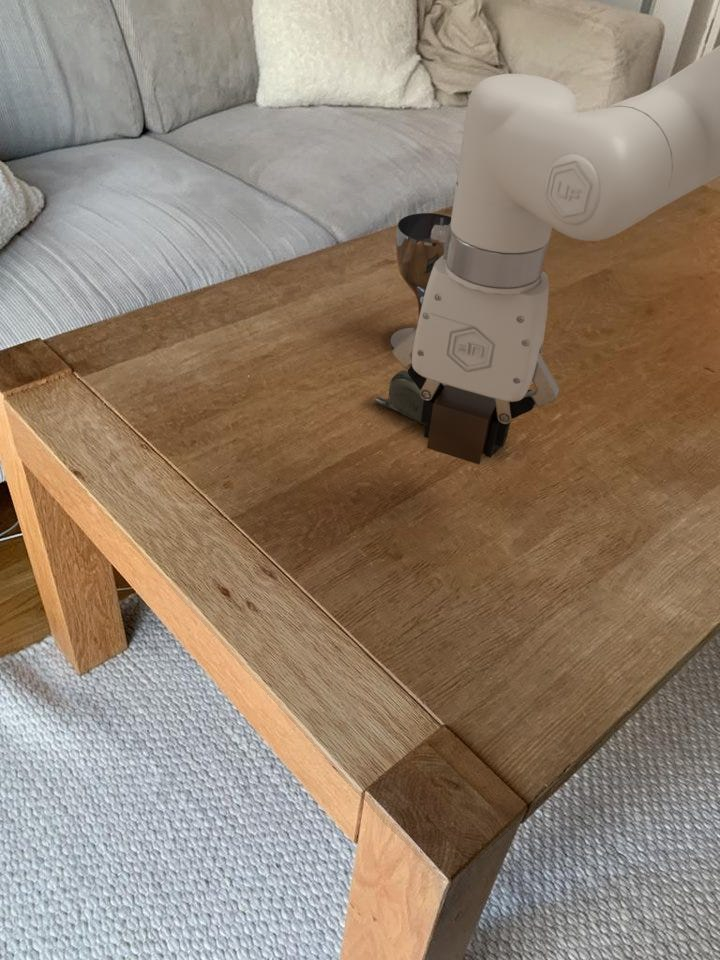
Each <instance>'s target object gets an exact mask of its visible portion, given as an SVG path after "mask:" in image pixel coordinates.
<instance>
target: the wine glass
mask: <svg viewBox="0 0 720 960" xmlns="http://www.w3.org/2000/svg"><path fill="white" fill-rule="evenodd" d="M451 217H452V216H448V215H445V214H440V213H433V212H432V213H431V212H421V213H413V214H409V215H407V216H404V217H402V218H401V219H400V220H399V221H398V223H397V228H396V229H397V230H396V240H395V241H396V244H395V250H396V251H395V253H396V262H397V267H398V271H399V274H400V276H401V278H402V280H403V282H405V284H406V285H407V286H408V287H409V289H411V291H412V292H413V294H414V296H415V297H416V300H417V305H418V308H417V309H418V317H419V316H420V311H421V307H422V303H423V299H424V295H425V291H426V287H427V284H428V281H429V278H430V275H431V272H432V269H433V266H434V264H435V262H436V261H437V260H438V259H439V258H440V257H441V256H443V255H444V251H443V246H440V245H439V243H435V242H431V240H430V237H431V232H432V229H433V226H434V225H440V226H444V225H447V226H448V225H449V224H450V223H451ZM417 320H419V318H418V319H417ZM416 329H417V327H406V328H402V329H399V330H397V331H395V332H394V333H393V334H392V335H391V337H390V339H389V342H390V346H391V347H392V348H393V349H394V348H395V347H396V346H397V345H398V343H399V342H401V341H402V340H403V339H405V338H406V337H407V336H408V335H410V334H411V333H412V332H414V331H415V330H416ZM420 353H421V352H420ZM422 354H423V353H422Z"/></svg>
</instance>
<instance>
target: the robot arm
mask: <svg viewBox="0 0 720 960" xmlns="http://www.w3.org/2000/svg"><path fill="white" fill-rule="evenodd" d="M466 105H467V106H466V112H465V117H464V123H463V124H464V125H463V132H462V138H461V147H460V152H459V153H460V154H459V161H458V167H457V175H456V182H455V188H454V189H455V190H454V195H453V203H452V211H451V216H450V217H451V223H450V224H449V225H448V226H447V225H444V226H440V225H434V226H433V229H432V232H431V237H430V240H431V242H435V243H439V245H440V246H443V251H444V255H443V256H441V257H440V258H439V259H438V260H437V261H436V262H435V264H434V266H433V269H432V272H431V275H430V278H429V281H428V284H427V287H426V291H425V295H424V299H423V303H422V307H421V311H420V316H419V315H418V319H419V320H418V319H417V320H418V322H417V326H416V328H417V329H416V330H415V331H414V332H412V333H411V334H410V335H408V336H407V337H406V338H405V339H403V340H402V341H401V342H399V343H398V345H397V346H396V347H395V348H393V349H392V356H393V357H394V358H395V359H396V361H397V362H398V363H399V364H400V366H402V367H403V369H405V370H406V371H408V374H409V376H410V377H411V379H412V380H413V381H414V383H415V384H416V385H417V387H418V388H419V389H420V396H421V398H422V399H423V400H424V402H423V409H422V416H421V422H422V423H425V425H424V431H423V438H426V439H428V437H429V430H430V423H431V417H432V410H433V404H434V402H435V401H436V399H437V397H438V396H439V394H440V393H441V391H442V390H443V388H444V387H445V386H443V384H445V385H449V386H452V387H456V388H459V389H462V390H466V391H469V392H473V393H476V394H480V395H483V396H486V397H490V398H494V399H495V404H496V412H495V414H494V416H493V418H492V420H491V422H490V426H489V431H488V436H487V440H486V445H485V450H484V454H485V455H484V457H487V458H490V459H491V458H492V456H493V454H494V453H495V452H494V450H495V448H496V446H500V448H503V447H504V445H506V441H507V439H508V435H509V431H510V427H511V421H512V419H515V418H518V417H519V416H522V415H525V414H526V413H529V412H531V411H532V410H533V409H535V408H541V407H543V406H544V407H545V406H547V405H549V404H553V403H555V402H556V401H557V399H558V397H559V394H560V392H561V390H560V387H559V386H558V383H557V382H556V380H555V378H554V376H553V374H552V372H551V370H550V369H549V367H548V365H547V363H546V362H545V360H544V358H543V356H542V351H543V345H544V338H545V334H546V327H547V326H546V325H547V319H548V318H547V317H548V311H549V310H548V308H549V287H550V285H549V276H548V274H547V273H546V272H545V271H543V270H544V266H545V261H546V257H547V252H548V249H549V243H550V239H551V235H552V230H555V231H556V232H558V233H560V234H562V235H564V236H567V237H569V238H571V239H574V240H577V241H583V242H597V241H603V240H607V239H610V238H612V237H614V236H616V235H618V234H620V233H622V232H623V231H625V230H627V229H629V228H630V227H632V226H634V225H636V224H637V223H640V222H641V221H643V220H644V219H646V218H647V217H648V216H650V215H651V214H653V213H655V212H657V211H659V210H660V209H662V208H664V207H665V206H667V205H669V204H671V203H673V202H675V201H676V200H678V199H680V198H682V197H683V196H685V195H687V194H689V193H692V192H693V191H694V190H697V189H698V188H701V187H702V186H704V185H706V184H708V183H709V182H711V181H713V180H715V179H717V178H719V177H720V44H719V45H718V46H717V47H715V48H713V49H712V50H711V51H709V52H707V53H705V54H704V55H702V56H700V57H699V58H698V59H696V60H695V61H693V62H692V63H690V64H689V65H687V66H686V67H684V68H682V69H681V70H679V71H678V72H676V73H675V74H673V75H671V76H670V77H668V78H667V79H665V80H664V81H661V82H660V83H658V84H657V85H655V86H653V87H651V88H650V89H648V90H645V92H643V93H642V92H641V93H639V94H638V95H635V96H631V97H629V98H627V99H624V100H621V101H619V102H615V103H613V104H611V105H609V106H608V105H607V106H606V107H604V108H600V109H595V110H594V109H593V110H588V111H581V112H580V111H579V112H578V102H577V99H576V96H575V95H574V93H573V92H572V91H571V90H570V89H569V88H568V87H567V86H565V85H564V84H562V83H560V82H557V81H555V80H553V79H551V78H548V77H544V76H540V75H539V76H538V75H533V74H526V73H525V74H524V73H502V74H497V75H491V76H488V77H486V78H484V79H482V80H481V81H479V82H478V83H477V84H476V85H475V86H474V88H473V89H472V90H471V93H470V95H469V98H468V101H467V104H466ZM420 352H421V353H420ZM422 353H423V354H422ZM532 383H533V385H534V387H535V388H534V389H530V387H531V384H532Z"/></svg>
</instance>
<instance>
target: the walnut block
mask: <svg viewBox="0 0 720 960" xmlns="http://www.w3.org/2000/svg"><path fill="white" fill-rule="evenodd" d="M495 412H496V404H495V399H494V398H490V397H486V396H483V395H480V394H476V393H473V392H469V391H466V390H462V389H459V388H456V387H452V386H449V385H445V387H444V388H443V390H442V391H441V393H440V394H439V396H438V397H437V399H436V401H435V402H434V404H433V410H432V417H431V423H430V430H429V437H428V438H427V444H426V448H427V449H429V450H431V451H435V452H438V453H441V454H443V455H447V456H450V457H453V458H457V459H459V460H463V461H467V462H470V463H473V464H475V465H481V462H482V460H483V459H484V457H485V454H484V450H485V445H486V440H487V436H488V431H489V426H490V422H491V420H492V418H493V416H494V414H495Z"/></svg>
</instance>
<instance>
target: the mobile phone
mask: <svg viewBox="0 0 720 960" xmlns="http://www.w3.org/2000/svg"><path fill="white" fill-rule="evenodd" d="M443 386H445V384H443ZM374 402H375V403H377V404H379V405H382V406H383V407H386V408H388V409H391V410H392V411H395V412H398V413H399V414H401V415H403V416H405V417H407V418H408V419H412V420H414V421H415V422H417V423H419V424H421V425H423V426H425V423H422V422H421V416H422V409H423V402H424V400H423V399H422V398H421V396H420V389H419V388H418V387H417V385H416V384H415V383H414V381H413V380H412V379H411V377H410V376H409V374H408V370H407V369H404V370H401V371H399V372H397V373H396V374H395V375H393V377H391V380H390V382H389V387H388V398H387V399H384V398H382V397H380V396H377V397H376V398H375V399H374ZM500 449H501V447H500V446H496V448H495V450H494V452H493V453H495V452H497V451H499V450H500Z"/></svg>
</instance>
